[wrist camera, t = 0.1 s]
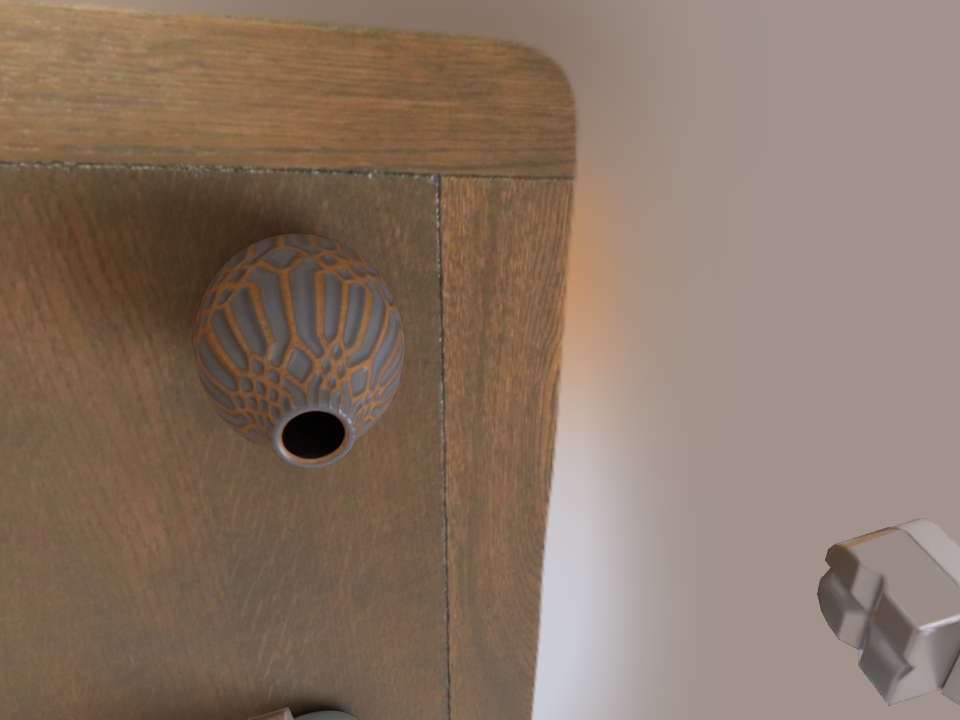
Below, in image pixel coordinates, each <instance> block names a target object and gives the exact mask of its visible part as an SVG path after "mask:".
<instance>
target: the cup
mask: <svg viewBox="0 0 960 720" xmlns="http://www.w3.org/2000/svg"><path fill="white" fill-rule="evenodd" d="M294 719H295V720H358V719H357V718H355V717H354V716H352V715H350V714H347V713H345V712H341V711H334V710H324V711H316V712H311V713H307V714H304V715H301V716H298V717H295V718H294Z"/></svg>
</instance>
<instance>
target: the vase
mask: <svg viewBox="0 0 960 720" xmlns="http://www.w3.org/2000/svg"><path fill="white" fill-rule="evenodd" d="M194 354H195V361H196V366H197V371H198V374H199V377H200V380H201V383H202V386H203V388H204V390H205V392H206V394H207V396H208V398H209V400H210V402H211V404H212V405H213V407H214V408H215V410H216V411H217V413H218V414H219V415H220V417H221V418H222V419H223V420H224V421H225V422H226V423H227V424H228V425H229V426H230V427H231V428H232V429H233V430H234V431H235V432H237V433H238V434H239V435H241V436H242V437H244V438H245V439H247V440H248V441H250V442H252V443H254V444H256V445H258V446H260V447H263V448H265V449H268V450H271V451H274V452H275V453H276V455H277V456H278V457H280V458H281V459H282V460H283V461H285V462H287V463H288V464H291V465H293V466H297V467H302V468H317V467H323V466H326V465H329V464H332V463H334V462H336V461H337V460H339V459H340V458H342V457H343V456H344V455H345V454H346V453H347V452H348V451H349V450H350V448H351V447H352V445H353V443H354V441H355V440H356V439H357V438H359V437H360V436H361V435H363V434H364V433H365V432H366V431H367V430H369V429H370V428H371V427H372V426H373V425H374V424H375V423H376V422H377V421H378V420H379V418H380V417H381V416H382V415H383V413H384V412H385V411H386V409H387V408H388V406H389V404H390V403H391V401H392V399H393V397H394V394H395V392H396V390H397V387H398V384H399V381H400V377H401V373H402V368H403V361H404V332H403V326H402V322H401V318H400V314H399V311H398V308H397V306H396V303H395V301H394V298H393V296H392V294H391V292H390V290H389V289H388V287H387V285H386V283H385V282H384V280H383V279H382V277H381V276H380V275H379V273H378V272H377V271H376V270H375V269H374V268H373V267H372V266H371V265H370V264H369V263H368V262H367V261H366V260H365V259H364V258H363V257H361V256H360V255H359V254H357V253H356V252H354V251H353V250H351V249H350V248H348V247H346V246H345V245H343V244H341V243H338V242H336V241H334V240H331V239H328V238H325V237H321V236H316V235H310V234H283V235H277V236H273V237H269V238H266V239H263V240H260V241H258V242H255V243H253V244H251V245H249V246H248V247H246V248H244V249H242V250H241V251H240V252H238V253H237V254H236V255H234V256H233V257H232V258H231V259H230V260H229V261H228V262H227V263H226V264H224V265H223V267H222V268H221V269H220V270H219V271H218V272H217V274H216V275H215V276H214V278H213V280H212V281H211V283H210V284H209V286H208V288H207V289H206V291H205V293H204V296H203V298H202V301H201V304H200V308H199V311H198V315H197V320H196V326H195V334H194Z"/></svg>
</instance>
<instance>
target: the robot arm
mask: <svg viewBox="0 0 960 720" xmlns="http://www.w3.org/2000/svg"><path fill="white" fill-rule="evenodd" d="M825 561H826V562H827V564H828V565H829V566H830V567H831V568H830V569H829V571H827V573H826V574H825V575H824V576H823V577H822V578H821V579H820V582H819V588H818V593H817V595H818V599H819V603H820V608H821V611H822V613H823V615H824V617H825V619H826V621H827V623H828V625H829V626H830V628H831V629H832V631H833V632H834V633H835V635H836V636H837V638H838V639H839V640H841V641H843V642H844V643H846V644H848V645H850V646H852V647H854V648H856V649H858V663H859V667H860V668H861V670H862V671H863V672H864V674H865V675H866V676H867V677H868V679H869V680H870V682H871V683H872V684H873V685H874V687H875V688H876V689H877V691H878V692H879V693H880V695H881V696H882V697H883V699H884V700H885V701H886V702H887V704H888V705H889V706H890V705H893V704H897V703H900V702H903V701H907V700H910V699H913V698H917V697H920V696H923V695H926V694H930V693H933V692H936V691H939V690H942V692H941V694H943V695H945V696H946V697H947V698H949V699H950V700H952V701H954V702H955V703H957V704H958V705H960V546H959V545H958V544H957V543H956V542H955V541H954V540H953V539H952V538H951V537H950V536H949V535H948V534H947V533H945V531H943V530H942V529H941V528H940V527H939V526H938V525H937V524H936V523H934V522H932V521H930V520H928V519H926V518H924V519H916V520H912V521H909V522H906V523H903V524H899V525H896V526H893V527H887V528H884V529H881V530H878V531H875V532H872V533H869V534H865V535H862V536H859V537H856V538H853V539H850V540H847V541H844V542H841V543H837V544H835V545H833V546H832V547H831V548H829V549H828V552H827V556H826V559H825ZM246 720H295V719H294V717H293V716H292V714H291V712H290V710H289V708H288V707H287V708H283V709H280V710H276V711H273V712H270V713H266V714H263V715H260V716H256V717H253V718H250V719H246Z"/></svg>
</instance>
